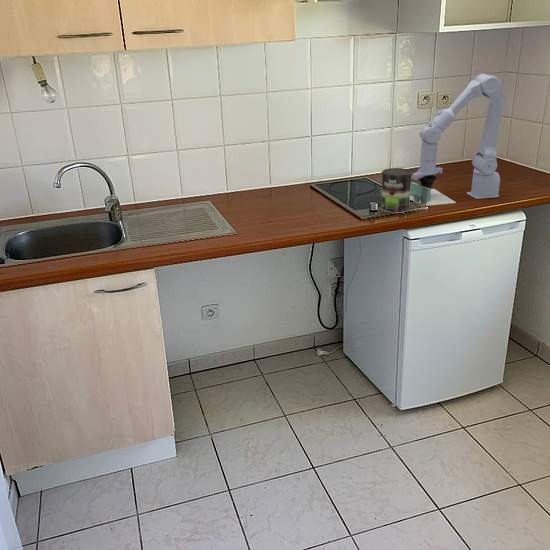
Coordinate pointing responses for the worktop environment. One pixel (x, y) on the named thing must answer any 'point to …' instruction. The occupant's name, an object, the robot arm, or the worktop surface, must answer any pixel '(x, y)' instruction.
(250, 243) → the worktop surface
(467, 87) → the robot arm
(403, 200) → the coffee can
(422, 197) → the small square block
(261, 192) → the worktop surface
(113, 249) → the worktop surface
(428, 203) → the base board
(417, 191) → the gate
